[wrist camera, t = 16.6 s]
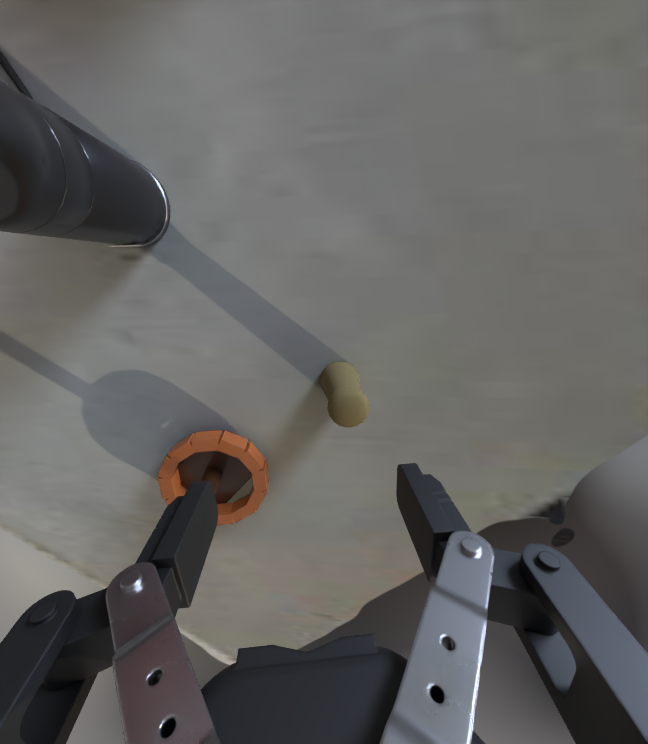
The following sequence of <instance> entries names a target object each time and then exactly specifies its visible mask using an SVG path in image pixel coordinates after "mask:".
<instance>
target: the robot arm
mask: <svg viewBox="0 0 648 744" xmlns="http://www.w3.org/2000/svg"><path fill="white" fill-rule="evenodd" d="M0 64H1V66H2V67H3V69H4V70H5V71H6V73H7V74H8V75H9V77H10V78H11V80H12V81H13V83H14V84H15V85H16V87H17V88H18V90H19V91H20V92H19V91H18V90H16V89H14V88H13V87H11V86H10V85H8V84H6V83H5V82H3V81H1V80H0V231H3V232H11V233H20V234H29V235H38V236H48V237H57V238H66V239H74V240H83V241H92V242H101V243H110V244H118V245H123V246H108V247H125V246H128V247H145V246H149V245H151V244H153V243H155V242H157V241H158V240H159V239H160V238H161V237H162V236H163V235H164V233H165V231H166V229H167V227H168V224H169V220H170V206H169V201H168V198H167V195H166V192H165V190H164V188H163V186H162V185H161V183H160V182H159V181H158V179H157V178H156V177H155V176H154V175H153V174H152V173H151V172H150V171H149V170H147V169H146V168H145V167H143V166H142V165H140V164H138V163H136V162H134V161H132V160H130V159H128V158H127V157H125V156H124V155H122V154H121V153H119V152H117V151H116V150H114V149H112V148H111V147H109V146H108V145H106V144H104V143H103V142H101V141H99V140H98V139H96V138H95V137H93V136H91V135H90V134H88V133H86V132H85V131H83V130H82V129H80V128H78V127H77V126H75V125H73V124H72V123H70V122H69V121H67V120H65V119H64V118H62V117H60V116H59V115H57V114H56V113H54V112H52V111H51V110H49V109H47V108H46V107H44V106H42V105H41V104H39V103H37V102H36V101H34V100H33V98H32V97H31V95H30V93H29V92H28V90H27V89H26V87H25V86H24V84H23V83H22V81H21V80H20V78H19V77H18V76H17V74H16V73H15V71H14V70H13V68H12V67H11V66H10V64H9V63H8V61H7V60H6V59H5V57H4V56H3V55H2V53H1V52H0ZM397 502H398V506H399V509H400V512H401V514H402V517H403V519H404V522H405V524H406V527H407V529H408V532H409V534H410V537H411V539H412V542H413V544H414V547H415V549H416V552H417V554H418V557H419V559H420V562H421V564H422V567H423V569H424V572H425V574H426V576H427V579H428V582H429V583H431V582H435V585H432V587H431V589H430V592H429V595H428V598H427V602H426V605H425V608H424V611H423V614H422V617H421V621H420V624H419V627H418V630H417V633H416V637H415V640H414V643H413V646H412V649H411V653H410V656H409V659H408V660H407V659H405V658H403V657H402V656H401V655H399V654H397V653H396V652H394V651H392V650H389V649H387V648H383V647H379V646H377V645H376V640H375V635H374V633H373V634H364V635H356V636H346V637H341V638H338V639H336V640H334V641H331V642H329V643H327V644H325V645H322V646H320V647H318V648H316V649H314V650H311V651H308V652H304V651H299V650H294V649H290V648H285V647H280V646H275V645H267V646H258V647H250V648H241V649H238V655H237V661H236V663H234V664H232V665H230V666H229V667H227V668H225V669H224V670H222V671H221V672H219V673H218V674H217V675H215V676H214V677H213V678H212V679H211V680H210V681H209V682H208V683H207V684H206V685H205V686H204V687H203V688H202V689H200V687H199V684H198V681H197V678H196V675H195V673H194V670H193V667H192V664H191V662H190V659H189V656H188V653H187V651H186V648H185V645H184V642H183V640H182V637H181V634H180V632H179V629H178V626H177V623H176V621H175V616H176V613H177V610H178V608H187V607H190V605H191V602H192V599H193V596H194V593H195V590H196V587H197V584H198V581H199V578H200V575H201V572H202V569H203V566H204V563H205V559H206V556H207V553H208V550H209V547H210V544H211V541H212V538H213V535H214V532H215V529H216V526H217V522H218V507H217V502H216V498H215V493H214V489H213V484H212V482H211V481H200V482H192V483H191V484H190V485H189V487H188V489H187V491H186V493H185V495H184V496H178V497H177V498H176V499H174V500H173V501H172V502H171V503H170V504H169V505H168V506H167V508H166V510H165V511H164V513H163V515H162V517H161V519H160V520H159V522H158V524H157V526H156V529H154V531H153V533H152V535H151V536H150V538H149V540H148V542H147V544H146V545H145V547H144V549H143V551H142V553H141V554H140V556H139V558H138V560H137V561H136V563H135V564H134V565H132V566H130V567H128V568H126V569H124V570H123V571H122V572H120V573H119V574H118V575H117V576H116V577H115V578H114V579H113V580H112V582H111V583H110V585H109V586H108V588H106V589H103V590H101V591H98V592H95V593H93V594H90V595H87V596H85V597H82V598H79V599H76V597H75V595H74V593H73V592H71V591H68V590H62V591H57V592H54V593H52V594H50V595H48V596H46V597H44V598H42V599H41V600H39V601H37V602H36V603H35V604H33V605H32V606H31V607H30V608H29V609H28V610H26V611H25V613H23V615H22V616H21V617H20V618H19V620H18V621H17V622H16V623H15V625H14V626H13V627H12V629H11V630H10V632H9V633H8V634H7V636H6V637H5V638H4V639H3V641H2V642H1V643H0V744H66V742H67V740H68V738H69V735H70V733H71V731H72V729H73V727H74V724H75V722H76V720H77V718H78V716H79V714H80V711H81V709H82V707H83V705H84V703H85V700H86V698H87V696H88V694H89V691H90V689H91V687H92V685H93V683H94V680H95V678H96V676H97V674H98V672H100V671H103V670H105V669H107V668H108V667H111V666H113V672H114V678H115V685H116V691H117V697H118V703H119V710H120V716H121V722H122V729H123V735H124V740H125V744H485V743H484V742H483V741H482V740H481V739H480V738H479V736H478V735H477V734H476V733H475V732H474V731H473V723H474V716H475V708H476V701H477V693H478V686H479V678H480V669H481V663H482V655H483V648H484V639H485V632H486V624H487V620H491V621H495V622H499V623H503V624H507V625H511V626H514V628H515V630H516V632H517V634H518V636H519V637H520V639H521V641H522V643H523V645H524V647H525V649H526V651H527V653H528V654H529V656H530V658H531V660H532V662H533V664H534V666H535V668H536V669H537V671H538V673H539V675H540V677H541V679H542V681H543V683H544V685H545V686H546V688H547V690H548V692H549V694H550V696H551V698H552V700H553V702H554V703H555V705H556V707H557V709H558V711H559V713H560V715H561V717H562V719H563V720H564V722H565V724H566V726H567V728H568V730H569V732H570V734H571V736H572V737H573V739H574V741H575V743H576V744H648V654H647V652H645V650H644V649H643V648H642V646H641V645H640V644H639V643H638V642H637V640H636V639H635V638H634V637H633V636H632V634H631V633H630V632H629V631H628V630H627V629H626V627H625V626H624V625H623V624H622V623H621V621H620V620H619V619H618V618H617V617H616V615H615V614H614V613H613V612H612V611H611V609H610V608H609V607H608V606H607V605H606V604H605V602H604V601H603V600H602V599H601V597H600V596H599V595H598V594H597V593H596V591H595V590H594V589H593V588H592V587H591V585H589V583H588V582H587V581H586V580H585V578H584V577H583V576H582V575H581V574H580V572H579V571H578V570H577V569H576V568H575V567H574V565H573V564H572V563H571V562H570V561H569V560H568V559H567V558H566V557H565V556H564V555H563V554H561V553H560V552H559V551H557V550H555V549H553V548H551V547H549V546H546V545H542V544H537V543H533V544H528V545H526V546H525V547H524V548H523V550H522V553H521V554H520V553H515V552H510V551H504V550H500V549H496V548H493V547H491V545H490V544H489V543H488V542H487V541H486V540H485V539H484V538H483V537H481V536H479V535H478V534H475V533H473V532H471V530H470V529H469V527H468V525H467V524H466V522H465V521H464V519H463V517H462V516H461V514H460V513H459V511H458V510H457V508H456V506H455V505H454V503H453V502H452V501H451V499H450V497H449V495H448V494H446V491H445V489H444V488H443V486H442V484H441V483H440V482H439V481H438V480H437V479H435V478H434V477H433V476H432V475H430V474H427V475H423V474H422V472H421V470H420V469H419V467H418V465H417V464H416V463H411V464H399V465H398V468H397Z"/></svg>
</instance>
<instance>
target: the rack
mask: <svg viewBox="0 0 648 744" xmlns="http://www.w3.org/2000/svg"><path fill="white" fill-rule="evenodd" d="M178 472H179V476H180V480H181V484H182V486H183V487H185V488H186V489H188V487H189V485H190V484H191V483H192V482H200V481H211V482H212V484H213V489H214V493H215V498H216V502H217V504H223V503H227V502H228V501H229V499H230V498H231V497H232V496H233V495H234V494H235V493H236V492H237V491H238V490H239V489H240V488H241V487H242V486H243V485H244V484H245V483H246V482H247V481H248V480H249V479H250V478H251V477H252V473H251V472H250V470H249V469H248V468H247V467H246V466H245V465H244V464H243V463H242V462H241V461H240V459H239V458H236V457H233V456H231V455H228V454H225V453H223V452H220V451H206V452H195V453H193V454H192V455H190V456H189V457H187V458H185V459H184V460H183V461H182V462H181V463H180V465H179V467H178Z"/></svg>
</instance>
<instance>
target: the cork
mask: <svg viewBox="0 0 648 744" xmlns="http://www.w3.org/2000/svg"><path fill="white" fill-rule="evenodd" d="M320 383H321V387H322V389H323V391H324V393H325V395H326V397H327V398H328V400H329V401H328V412H329V416H330V417H331V419H332V420H333V421H334V422H335V423H336V424H338V425H339V426H342V427H354V426H357V425H359V424H361V423H362V422H363V421H364V420H365V419H366V418H367V416H368V413H369V406H370V405H369V400H368V398H367V396H366V395H365V393H364V392H363V391H361V387H360V380H359V375H358V372H357V370H356V368H355V367H354V366H352V365H351V364H350V363H347V362H342V361H338V362H334V363H331V364H330V365H328V366H327V367H326V368H325V369H324V370H323V372H322V374H321V377H320Z"/></svg>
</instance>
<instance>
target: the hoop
mask: <svg viewBox="0 0 648 744" xmlns="http://www.w3.org/2000/svg"><path fill="white" fill-rule="evenodd" d="M247 442H248V439H246V438H243V437H241V436H238V435H236V434H233V433H231V432H228V431H226V430H225V432H224V434H223V433H222V430H213V431H199V432H196V434H195V433H192V434H191V435H189V436H188V437H186V438H184V439H183V440H181V441H180V442H178V443H177V444H175V445H174V446H173V447H172V448H171V450H170V451H169V453H168V454H167V455H166V457H165V459H164V462H163V464H162V466H161V469H160V471H159V474H158V483H159V487H160V490H161V494H162V497H163V499H166V500H165V502H166V503H167V504H168V505H169V504H170V503H171V502H172V501H173V500H174V499H176V498H177V497H178V496H184V495H185V493H186V491H187V490H186V489H185V488H184V487H183V486H182V484H181V480H180V476H179V472H178V467H179V465H180V462H181V461H182V460H184V459H185V458H187V457H189V456H190V455H192V454H193V453H195V452H206V451H220V452H223V453H225V454H228V455H231V456H233V457H236V458H239V459H240V461H241V462H242V463H243V464H244V465H245V466H246V467H247V468H248V469H249V470H250V472H251V473H252V479H253V487H252V488H251V490H250V492H249V494H247V495H246V496H244V497H242V498H240V499H239V500H237V501H235V502H234V503H223V504H217V507H218V522H217V525H224V524H233V523H234V521H235V522H236V523H237V522H238V521H240V520H242V519H244V518H245V517H247V516H249V515H251V514H252V513H254V512H255V510H257V509H258V508H259V506H260V504H261V502H262V500H263V499H264V497H265V495H266V493H267V488H268V482H269V477H268V469H267V461H266V460H265V457H264V456H263V455H262V454H261V453H260V451H259V450H258V449H257V448H256V447H255V446H254V444H253V443H252V442H251V441H250V442H249V443H247Z"/></svg>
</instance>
